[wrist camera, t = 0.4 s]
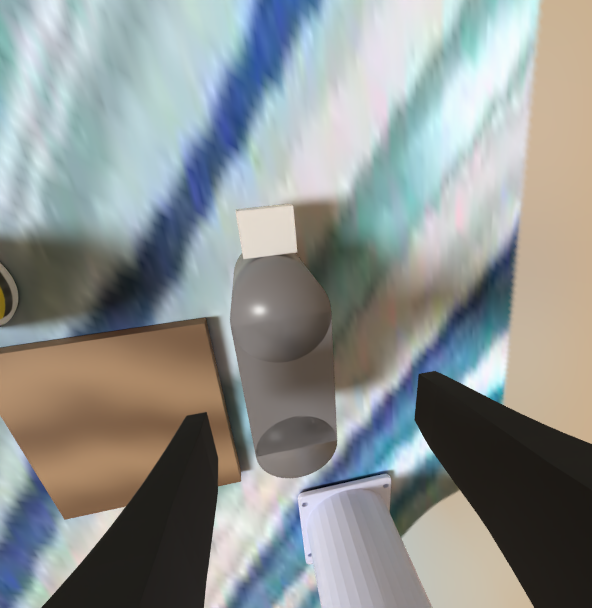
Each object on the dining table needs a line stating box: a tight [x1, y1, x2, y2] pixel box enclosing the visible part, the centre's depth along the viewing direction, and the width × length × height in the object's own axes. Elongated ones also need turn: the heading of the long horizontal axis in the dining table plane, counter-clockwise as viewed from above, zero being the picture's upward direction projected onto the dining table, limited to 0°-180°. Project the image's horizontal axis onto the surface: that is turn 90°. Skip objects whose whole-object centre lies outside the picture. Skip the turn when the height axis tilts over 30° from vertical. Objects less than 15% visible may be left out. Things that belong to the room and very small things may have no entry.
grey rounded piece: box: [230, 204, 337, 478], centre depth 15 cm, size 13×4×6 cm, turn 5°
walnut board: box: [0, 318, 241, 519], centre depth 19 cm, size 13×12×1 cm
